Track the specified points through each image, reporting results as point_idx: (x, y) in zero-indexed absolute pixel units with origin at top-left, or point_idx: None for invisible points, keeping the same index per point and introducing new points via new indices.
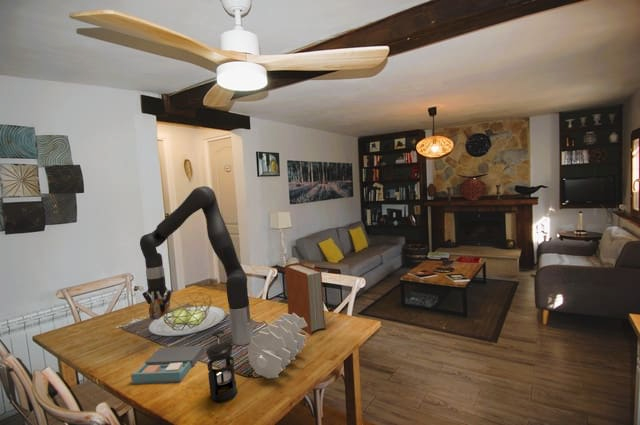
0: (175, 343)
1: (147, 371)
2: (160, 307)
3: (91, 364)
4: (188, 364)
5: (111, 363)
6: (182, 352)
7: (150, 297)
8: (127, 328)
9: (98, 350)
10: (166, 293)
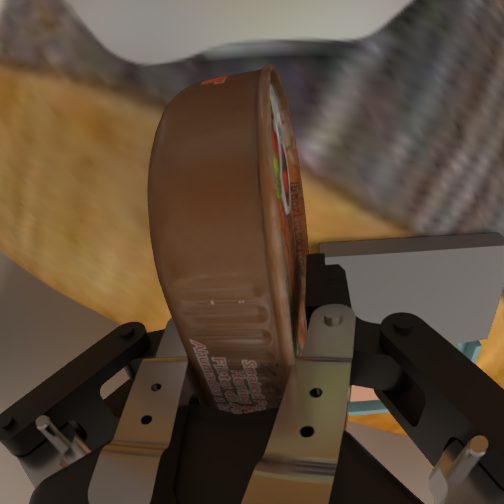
0: (335, 140)
1: (366, 398)
2: (297, 325)
3: (101, 301)
4: (477, 353)
5: (158, 301)
6: (446, 296)
7: (95, 384)
8: (5, 51)
9: (39, 218)
10: (435, 484)
